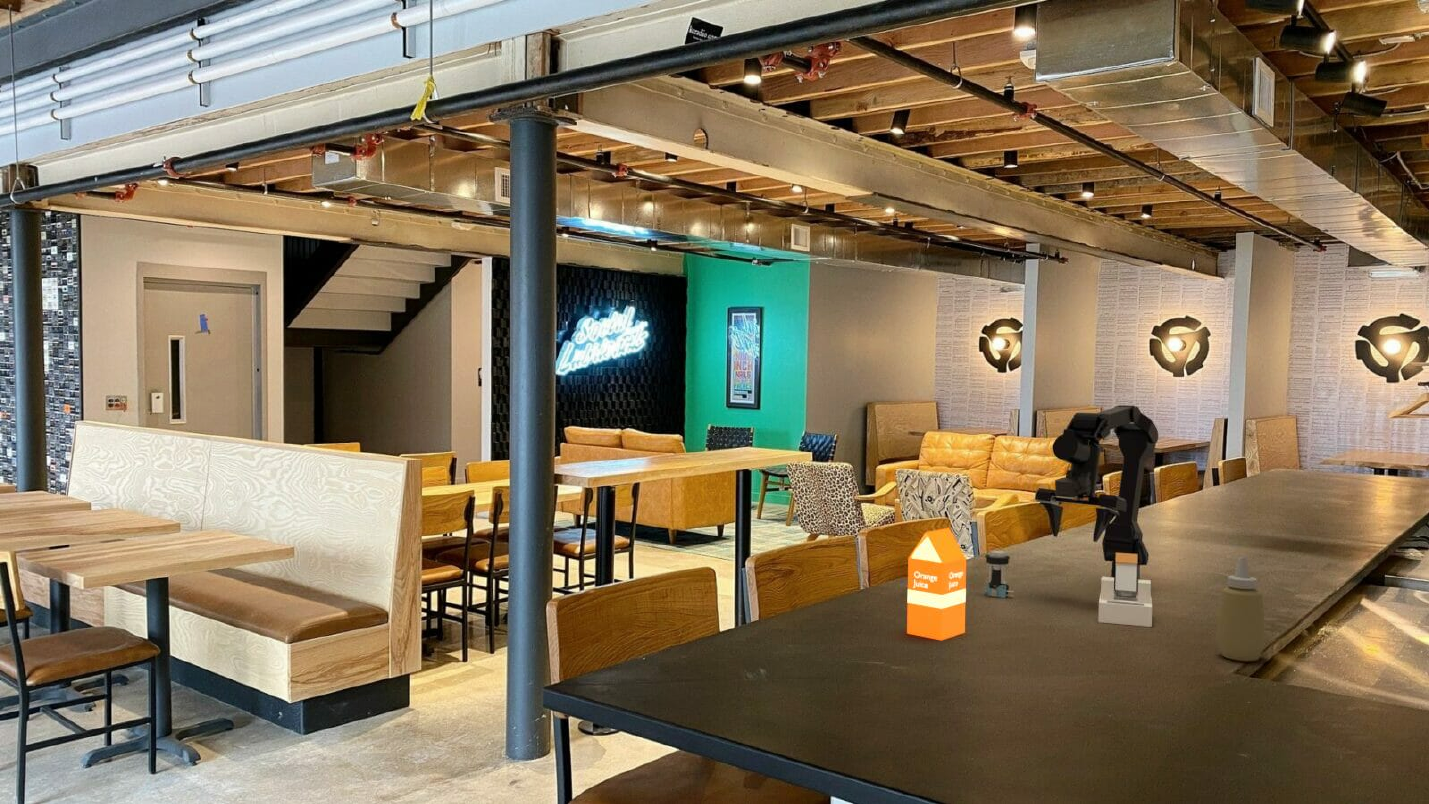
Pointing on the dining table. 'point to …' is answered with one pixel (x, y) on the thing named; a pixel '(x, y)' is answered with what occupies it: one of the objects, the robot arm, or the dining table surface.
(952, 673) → the dining table surface
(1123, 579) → the lever
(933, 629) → the orange juice
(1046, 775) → the dining table surface
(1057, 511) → the robot arm
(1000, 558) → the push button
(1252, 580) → the squeeze bottle
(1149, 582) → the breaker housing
